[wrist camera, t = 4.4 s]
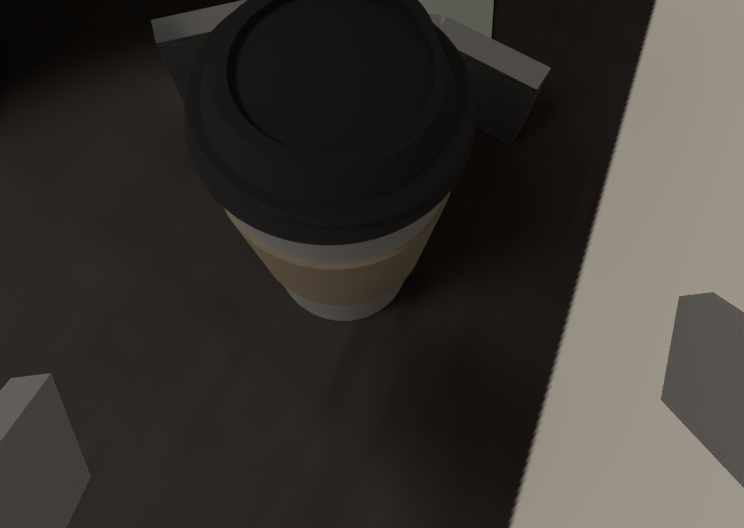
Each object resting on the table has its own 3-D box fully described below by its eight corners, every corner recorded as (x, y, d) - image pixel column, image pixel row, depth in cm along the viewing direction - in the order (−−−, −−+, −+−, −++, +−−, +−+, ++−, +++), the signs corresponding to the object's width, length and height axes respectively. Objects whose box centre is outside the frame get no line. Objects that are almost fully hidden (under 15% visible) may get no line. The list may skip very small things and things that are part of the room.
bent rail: (174, 104, 32) (142, 42, 27) (191, 51, 33) (164, -18, 29) (522, 147, 31) (550, 91, 27) (524, 91, 33) (551, 28, 28)
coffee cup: (349, 380, 26) (338, 278, 12) (220, 265, 28) (85, 64, 14) (462, 252, 29) (559, 45, 15) (337, 154, 31) (318, -108, 17)
